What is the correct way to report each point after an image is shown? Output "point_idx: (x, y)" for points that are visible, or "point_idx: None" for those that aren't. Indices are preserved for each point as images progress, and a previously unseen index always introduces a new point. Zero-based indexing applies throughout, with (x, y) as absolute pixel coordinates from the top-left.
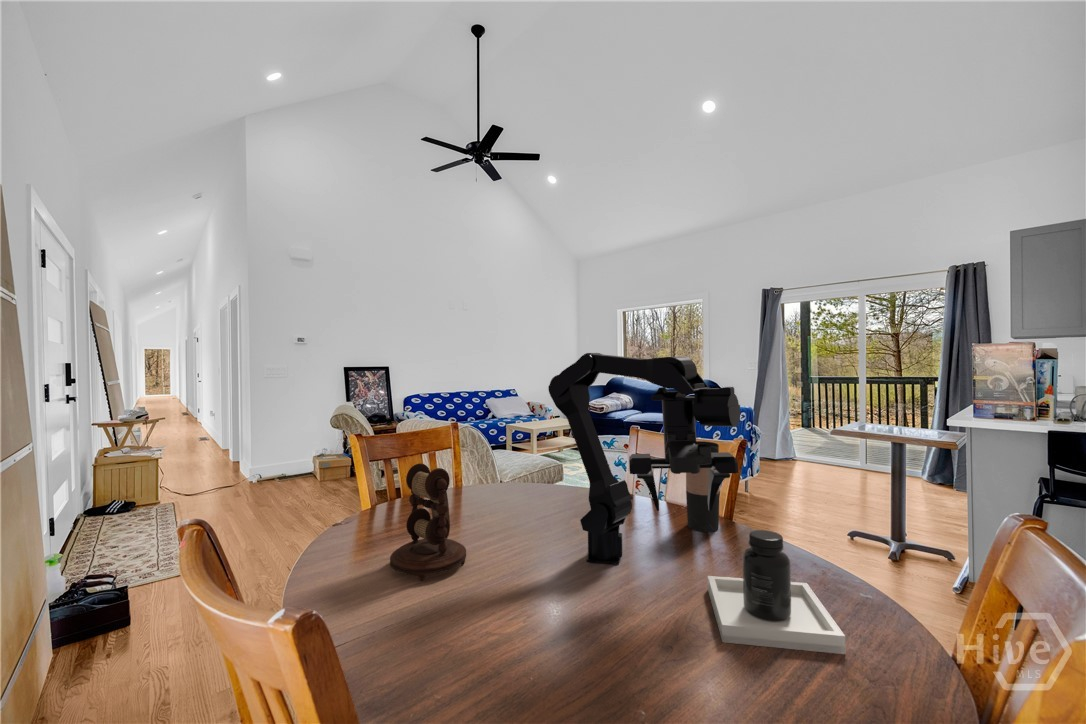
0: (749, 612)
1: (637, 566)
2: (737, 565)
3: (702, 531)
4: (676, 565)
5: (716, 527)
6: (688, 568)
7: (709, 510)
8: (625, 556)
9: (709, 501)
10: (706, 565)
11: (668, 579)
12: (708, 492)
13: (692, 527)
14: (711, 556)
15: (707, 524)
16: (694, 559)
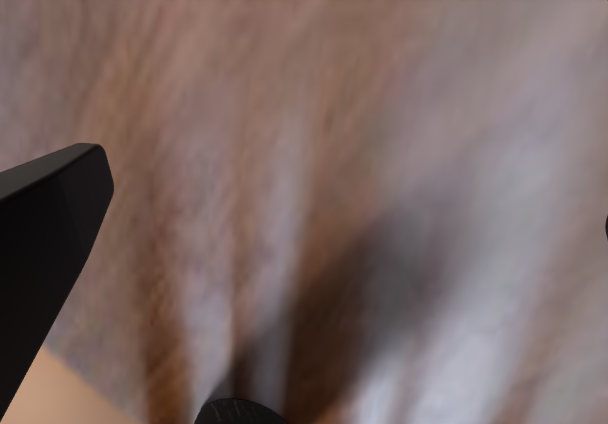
0: None
1: (574, 142)
2: (148, 171)
3: (249, 401)
4: (386, 160)
5: (201, 413)
6: (340, 136)
7: (97, 146)
8: (599, 234)
9: (37, 183)
10: (263, 166)
11: (456, 15)
12: (20, 319)
13: (278, 421)
14: (236, 239)
15: (226, 420)
16: (303, 214)
